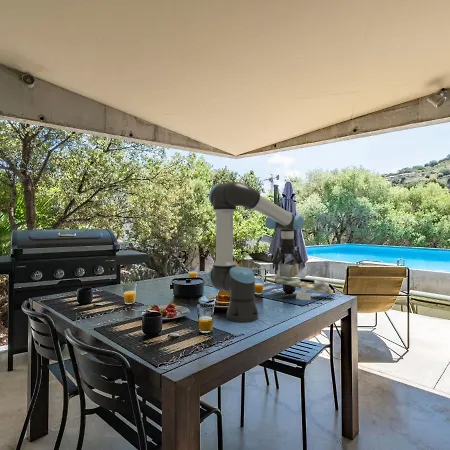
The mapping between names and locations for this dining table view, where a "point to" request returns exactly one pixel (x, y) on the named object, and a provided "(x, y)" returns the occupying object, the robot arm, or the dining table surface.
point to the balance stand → (303, 294)
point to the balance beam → (317, 286)
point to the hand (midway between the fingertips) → (287, 275)
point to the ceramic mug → (287, 270)
